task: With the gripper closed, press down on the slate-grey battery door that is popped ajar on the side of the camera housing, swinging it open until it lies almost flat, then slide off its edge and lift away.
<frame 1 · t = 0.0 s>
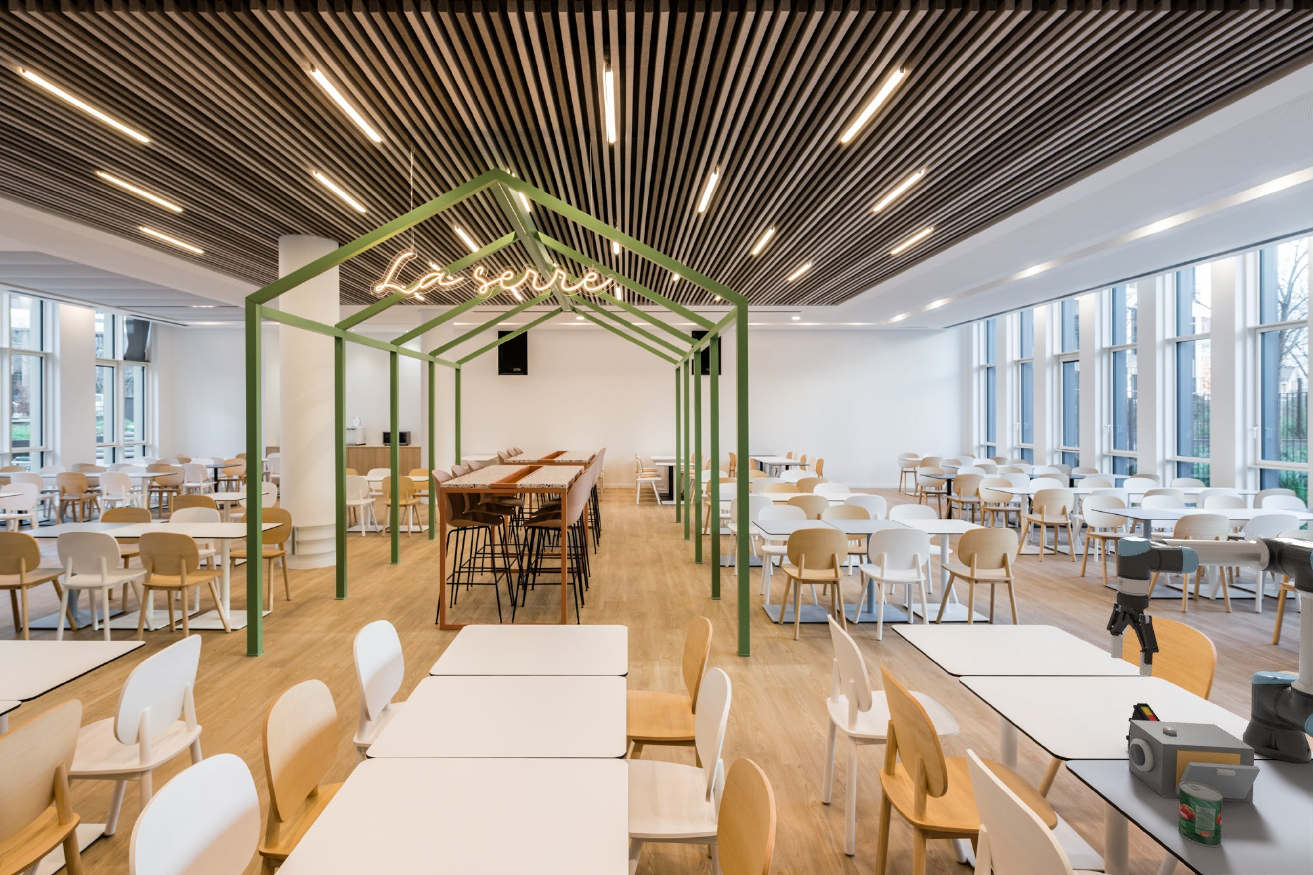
hand: (1130, 666, 191), 28 cm above the table, fingers open, 13 cm apart
door: (1218, 782, 169), point 7 cm above the table, hinge at 25.0°
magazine: (1147, 759, 194), on the table
canned tomato: (1199, 837, 157), on the table
camera housing: (1188, 784, 180), on the table
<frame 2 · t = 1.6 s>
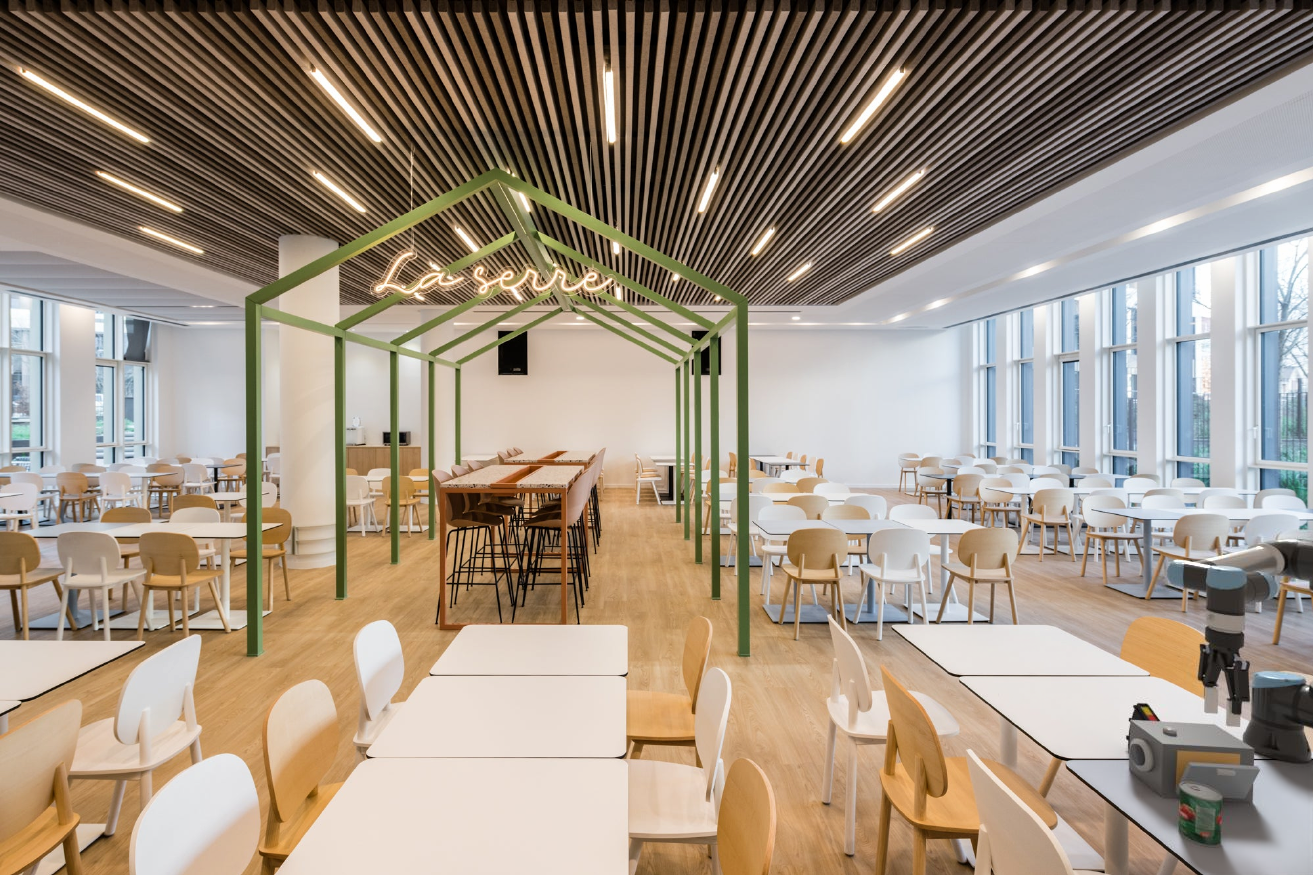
hand: (1221, 719, 168), 23 cm above the table, fingers open, 7 cm apart
nothing on the table moved.
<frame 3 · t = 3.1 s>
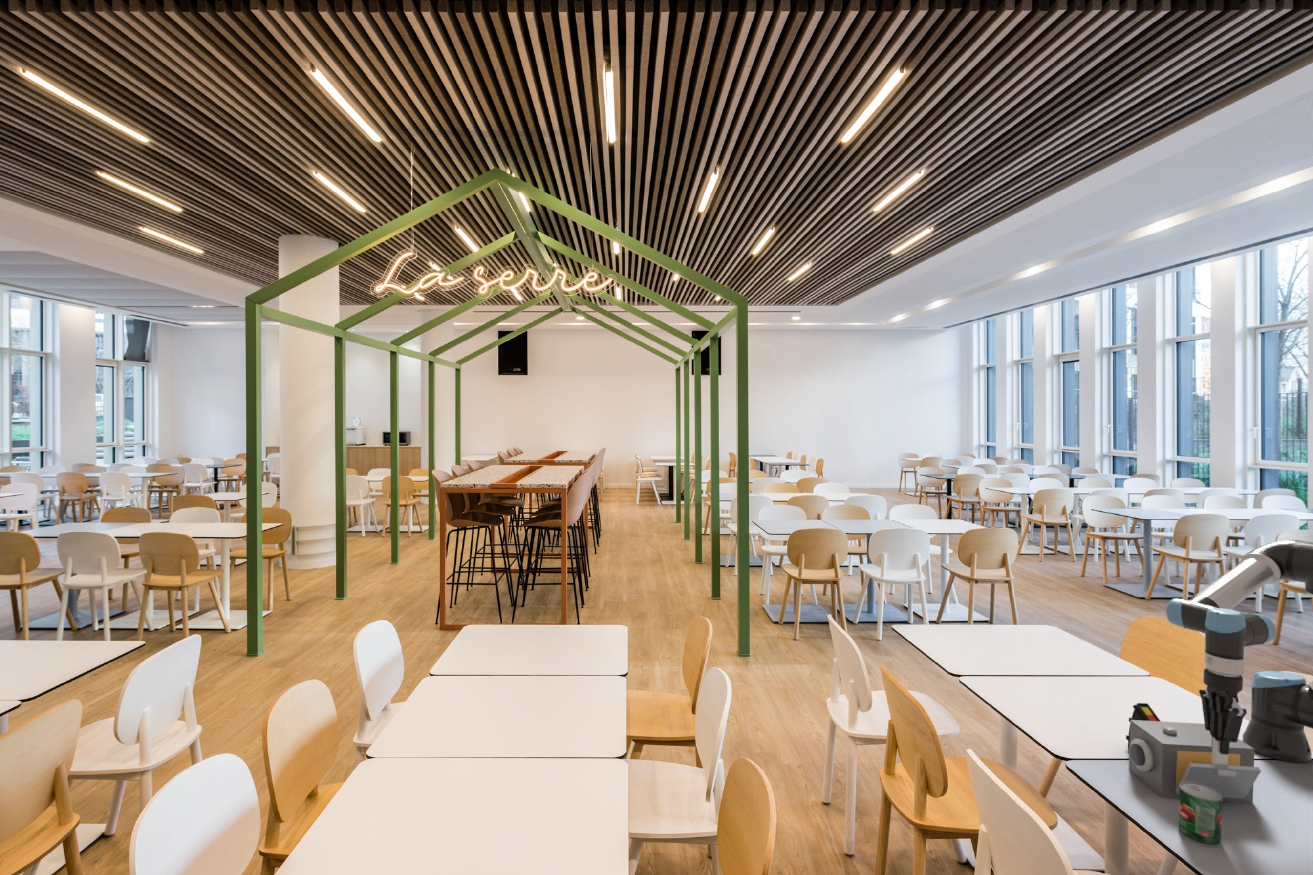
hand: (1219, 764, 168), 12 cm above the table, fingers closed
door: (1218, 782, 169), point 6 cm above the table, hinge at 26.4°, touching gripper
everything else where it was.
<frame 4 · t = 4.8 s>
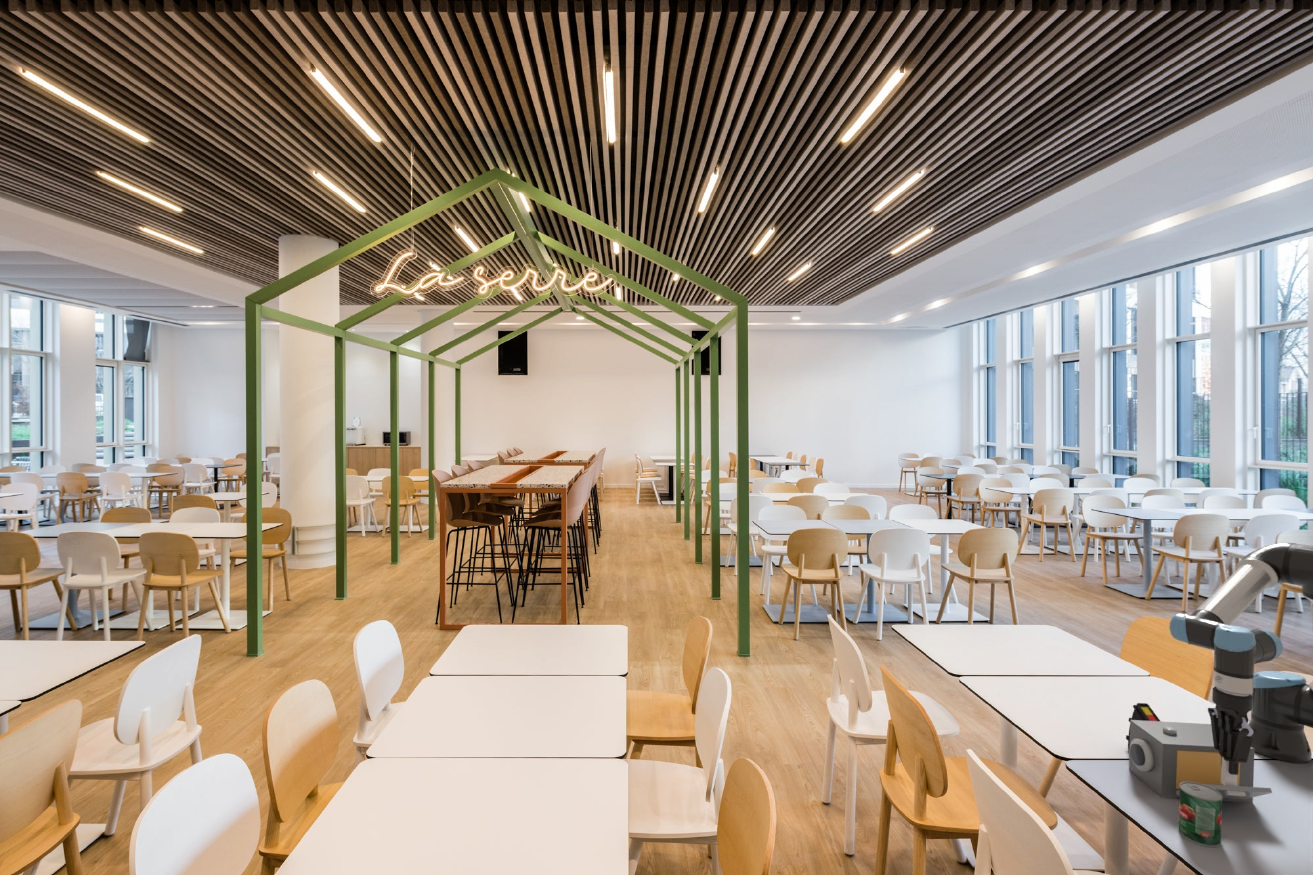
hand: (1228, 784, 165), 8 cm above the table, fingers closed
door: (1223, 793, 167), point 5 cm above the table, hinge at 52.7°, touching gripper
everything else where it was.
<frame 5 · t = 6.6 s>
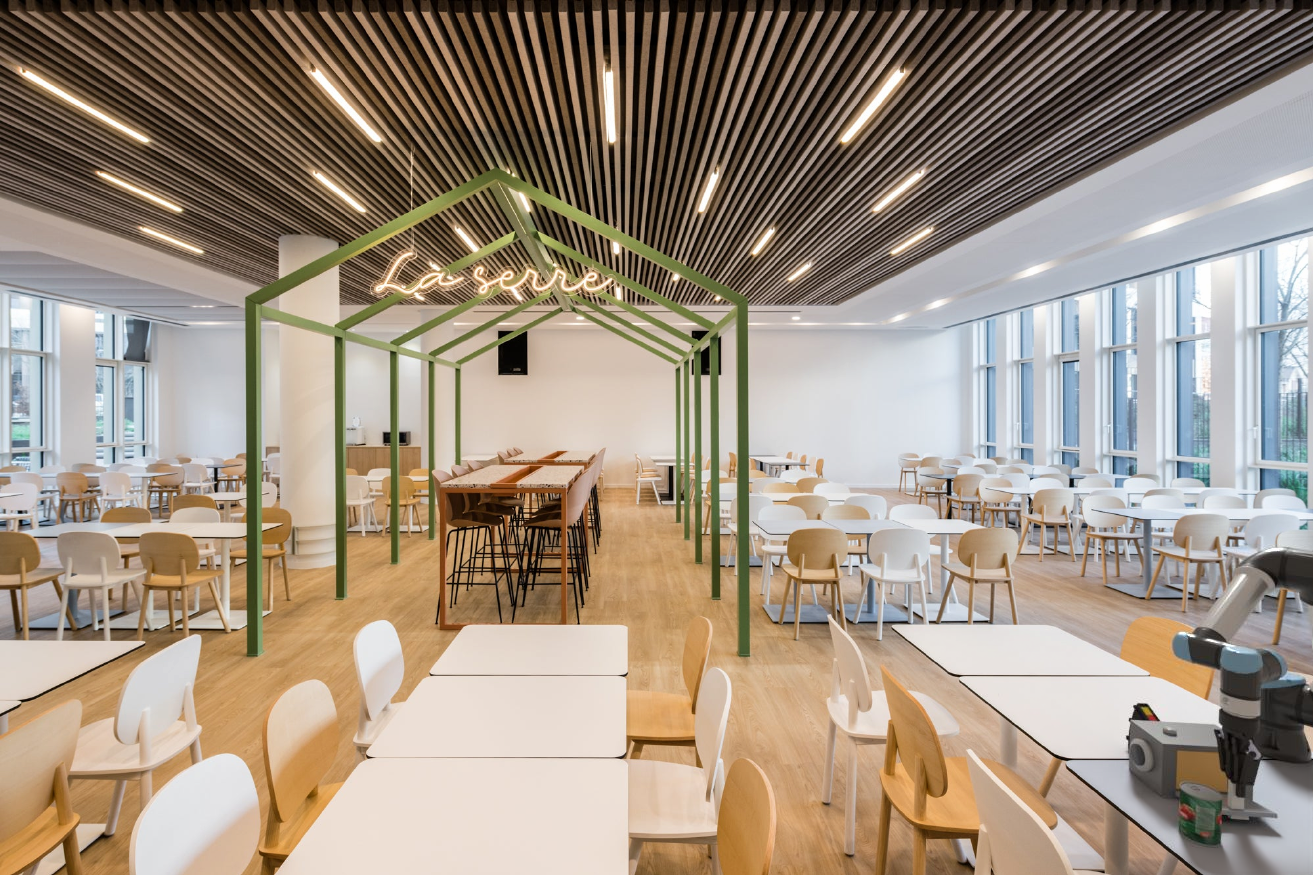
hand: (1235, 807, 163), 4 cm above the table, fingers closed
door: (1224, 806, 167), point 2 cm above the table, hinge at 81.6°, touching gripper
everything else where it was.
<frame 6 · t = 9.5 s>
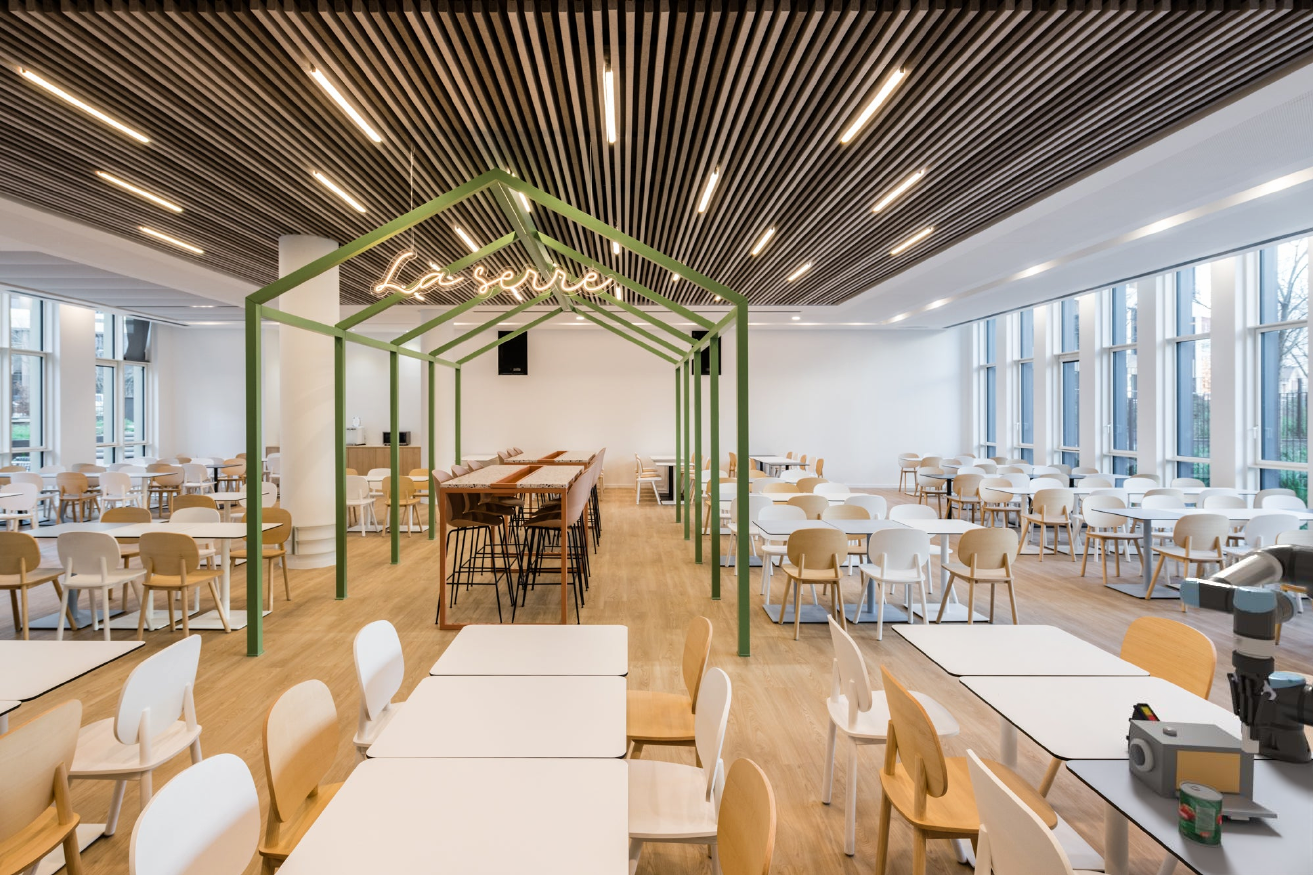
hand: (1250, 751, 159), 19 cm above the table, fingers closed
door: (1224, 806, 167), point 2 cm above the table, hinge at 82.2°
everything else where it was.
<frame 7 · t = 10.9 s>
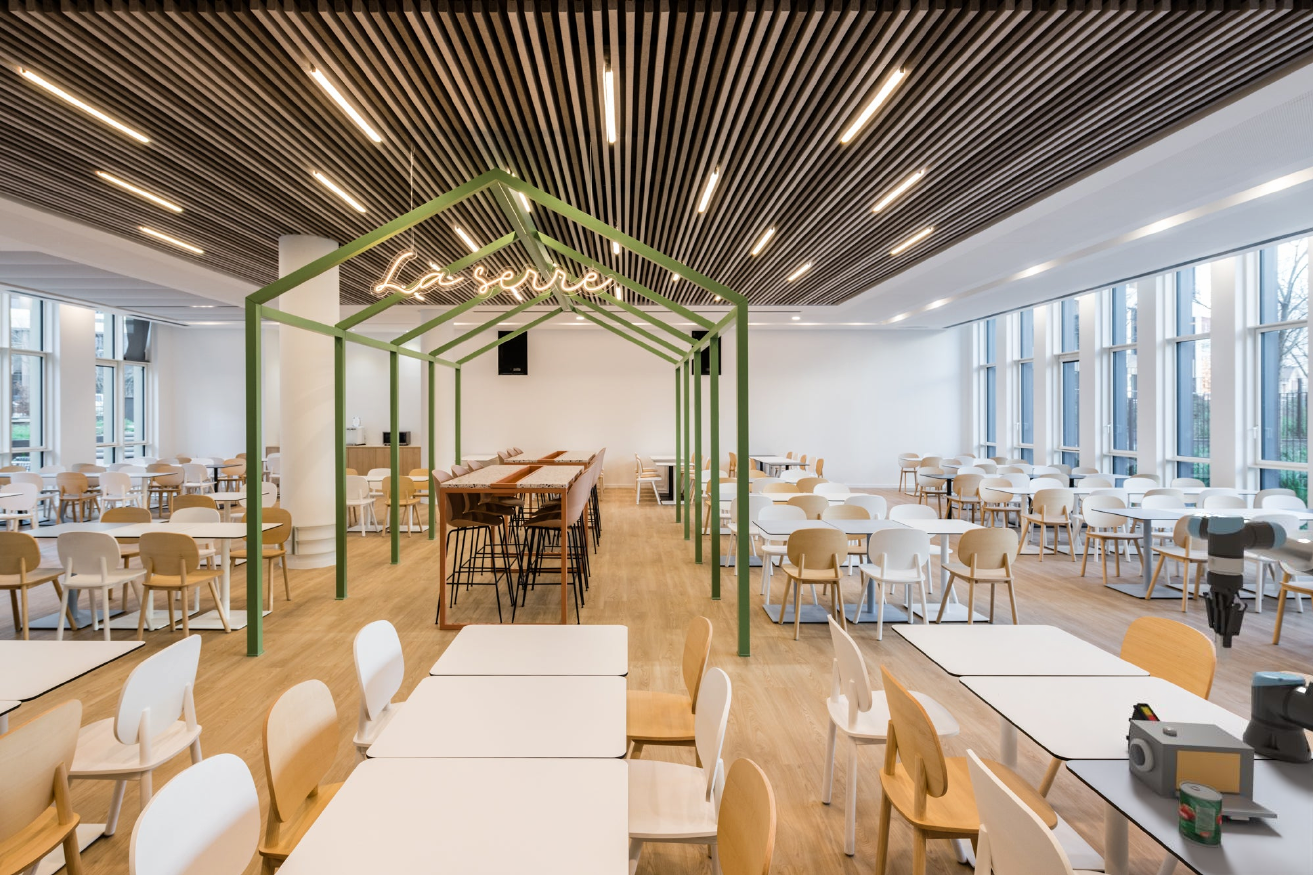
hand: (1223, 658, 181), 34 cm above the table, fingers closed
nothing on the table moved.
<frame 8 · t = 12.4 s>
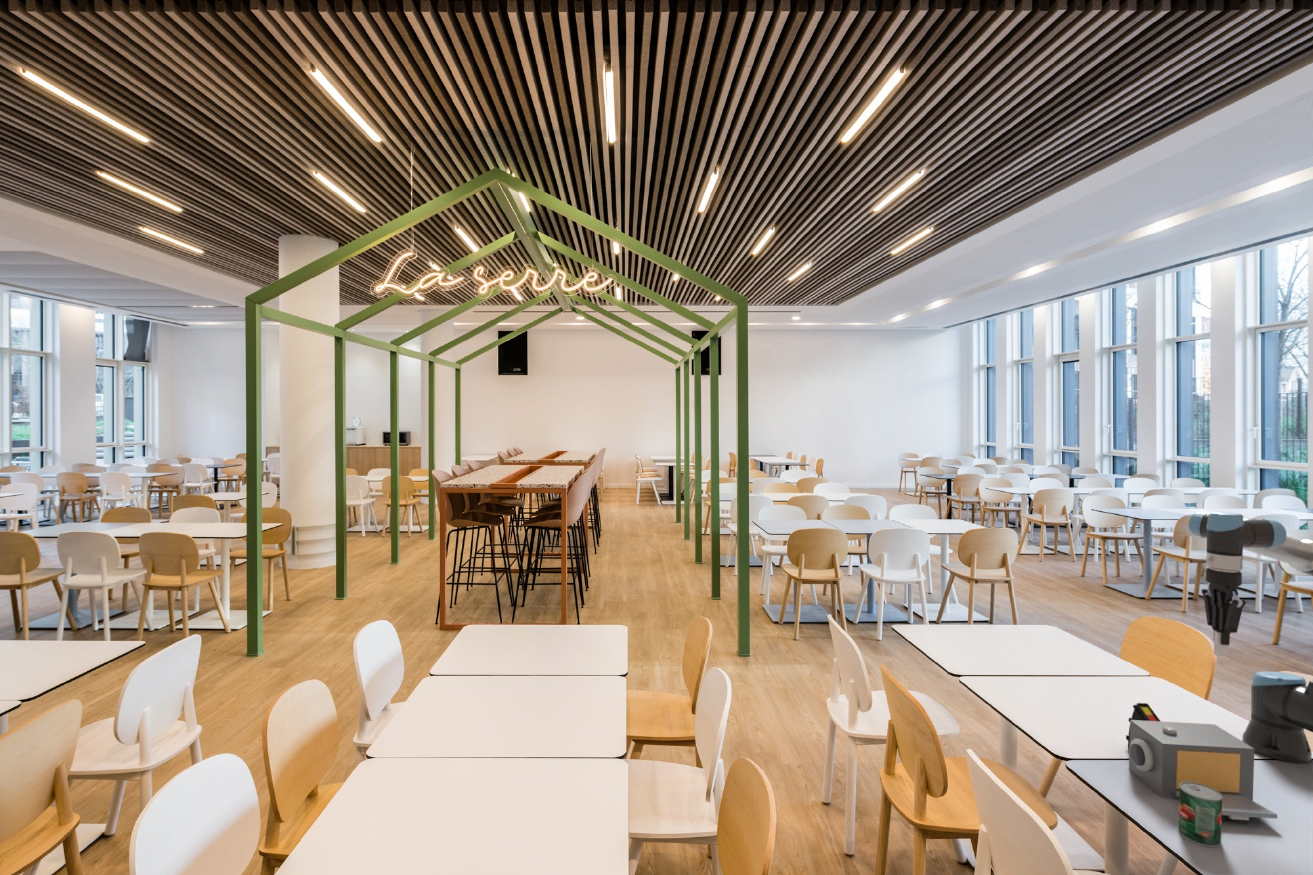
hand: (1221, 655, 182), 34 cm above the table, fingers closed
nothing on the table moved.
at the end: door at +82° (first picture: +25°) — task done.
